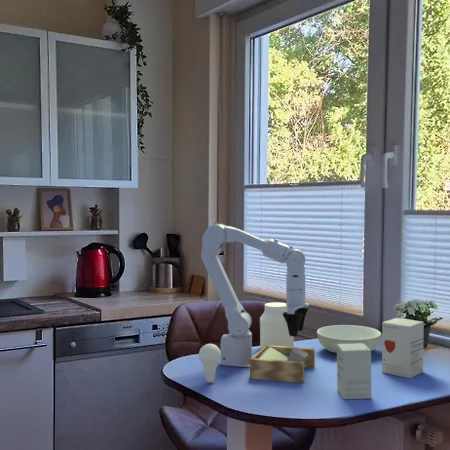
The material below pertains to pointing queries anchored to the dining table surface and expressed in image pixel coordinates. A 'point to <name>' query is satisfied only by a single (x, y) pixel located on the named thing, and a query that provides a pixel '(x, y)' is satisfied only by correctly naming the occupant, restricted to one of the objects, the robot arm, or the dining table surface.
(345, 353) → the supplement box
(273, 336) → the jar
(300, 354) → the gray block
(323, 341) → the serving bowl
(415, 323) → the supplement box
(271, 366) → the hatch frame
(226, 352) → the robot arm
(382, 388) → the dining table surface
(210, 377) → the lightbulb
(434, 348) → the dining table surface
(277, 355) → the hatch
